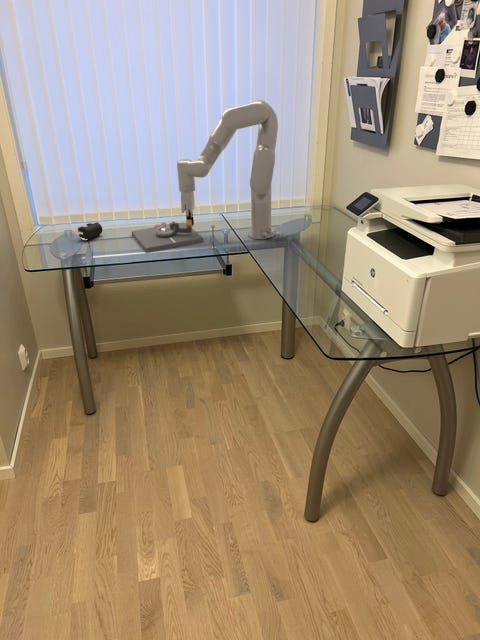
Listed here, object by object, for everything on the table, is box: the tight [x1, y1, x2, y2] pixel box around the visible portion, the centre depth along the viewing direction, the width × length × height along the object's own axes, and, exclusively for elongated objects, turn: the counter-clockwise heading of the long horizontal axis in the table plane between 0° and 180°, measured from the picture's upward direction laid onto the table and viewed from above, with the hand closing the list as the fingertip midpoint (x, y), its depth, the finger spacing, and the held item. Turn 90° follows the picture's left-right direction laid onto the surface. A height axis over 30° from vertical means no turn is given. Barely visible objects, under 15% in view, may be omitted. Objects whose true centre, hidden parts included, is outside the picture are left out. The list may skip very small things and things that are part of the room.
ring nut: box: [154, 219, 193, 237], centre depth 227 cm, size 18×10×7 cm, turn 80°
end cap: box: [77, 221, 103, 240], centre depth 233 cm, size 10×7×7 cm
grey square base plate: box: [131, 221, 204, 253], centre depth 230 cm, size 28×28×2 cm
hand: (190, 225), depth 229 cm, fingers closed
